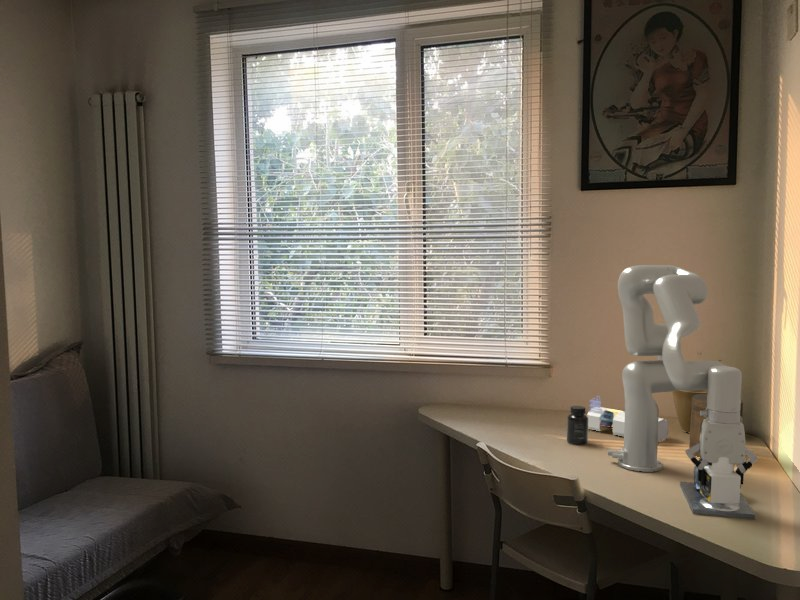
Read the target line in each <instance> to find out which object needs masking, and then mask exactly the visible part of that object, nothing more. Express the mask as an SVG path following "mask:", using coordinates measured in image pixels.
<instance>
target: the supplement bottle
mask: <svg viewBox="0 0 800 600" xmlns="http://www.w3.org/2000/svg"><path fill="white" fill-rule="evenodd" d="M569 413H570V414H568V415H567V419H566V442H567V443H568V444H570V445H575V446H585V445H587V444H588V442H589V441H588V440H589V430H588V417H587V414H586V413H587V411H586V407H585V406H582V405H573V406H571V405H570V411H569Z"/></svg>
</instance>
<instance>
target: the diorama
mask: <svg viewBox="0 0 800 600" xmlns="http://www.w3.org/2000/svg"><path fill="white" fill-rule="evenodd" d="M589 403H590V404H589V405H590V406H589V410H588V412H587V414H586V416H587V417H588V429H592V430H596V431H601V432H602V430H601V426H600V425H605V426H610V427H613V428H612V434H613V436H614V435H618V436H617V437H619V436H623V437H624V424H625V410H624V411H623V410H620V409H619V410H618V409H613V408H607V407H603V406H601V404H602V401H601V396H600V395H597V396H596V397H592V399H589ZM596 431H595V432H596ZM668 434H669V421H668V420H666V419H665V418H662V417H661V418H660V417H658V442H659V441H662V440H663V439H665V438H666V439H667V438H668ZM623 437H622V438H623ZM662 442H663V441H662Z"/></svg>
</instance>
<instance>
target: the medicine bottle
mask: <svg viewBox="0 0 800 600" xmlns="http://www.w3.org/2000/svg"><path fill="white" fill-rule="evenodd" d="M704 469H705V485H704V486H702V485H701V484H700V493H701V494H702V495H703V496H704V497H705V498H706V499H707V500H708V501H709V502H710V503H723V504H739V503H740V493H741V489H740V483H741V477H740V476H739V475H738V474H737V473H736V472H735V464H730V463H729V459H728V458H726V457H720V458H719V460H718V462H717V463H711V462H708V464H707V466H705V467H704Z"/></svg>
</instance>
